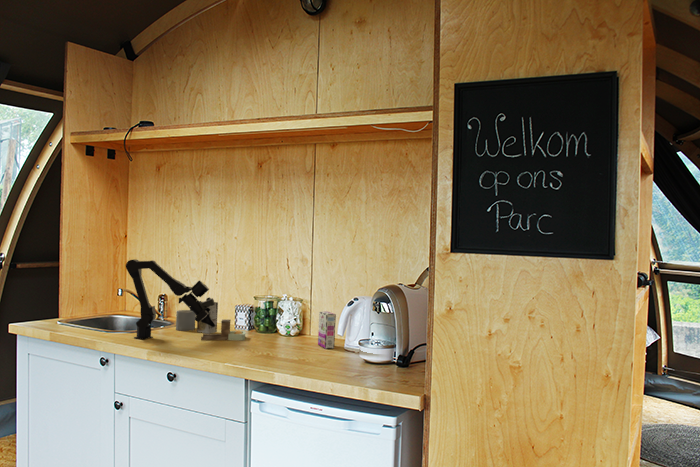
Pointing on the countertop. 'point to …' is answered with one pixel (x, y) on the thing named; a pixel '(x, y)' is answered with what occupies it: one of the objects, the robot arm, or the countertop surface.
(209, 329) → the coffee box
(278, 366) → the countertop surface
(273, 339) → the countertop surface
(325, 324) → the candy bar box
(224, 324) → the brown wooden box
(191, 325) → the coffee mug
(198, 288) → the robot arm
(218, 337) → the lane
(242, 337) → the grey-green flat block
